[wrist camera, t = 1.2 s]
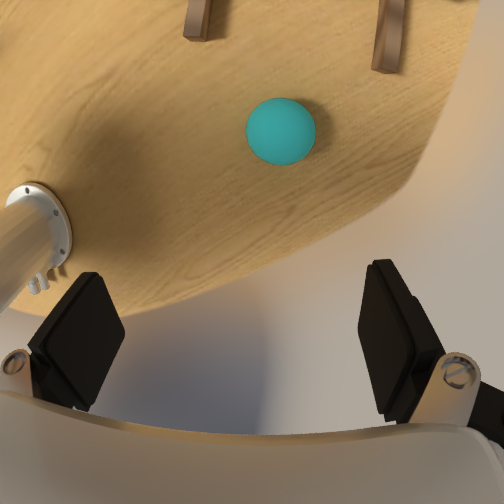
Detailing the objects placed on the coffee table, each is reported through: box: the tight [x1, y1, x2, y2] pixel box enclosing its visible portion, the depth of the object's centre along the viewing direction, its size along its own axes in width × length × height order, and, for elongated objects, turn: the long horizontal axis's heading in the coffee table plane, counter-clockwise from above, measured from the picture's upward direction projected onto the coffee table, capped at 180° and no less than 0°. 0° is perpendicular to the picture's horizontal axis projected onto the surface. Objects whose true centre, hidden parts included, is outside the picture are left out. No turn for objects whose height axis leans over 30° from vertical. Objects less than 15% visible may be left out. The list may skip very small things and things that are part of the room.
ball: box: [246, 98, 316, 165], centre depth 24 cm, size 6×6×6 cm
